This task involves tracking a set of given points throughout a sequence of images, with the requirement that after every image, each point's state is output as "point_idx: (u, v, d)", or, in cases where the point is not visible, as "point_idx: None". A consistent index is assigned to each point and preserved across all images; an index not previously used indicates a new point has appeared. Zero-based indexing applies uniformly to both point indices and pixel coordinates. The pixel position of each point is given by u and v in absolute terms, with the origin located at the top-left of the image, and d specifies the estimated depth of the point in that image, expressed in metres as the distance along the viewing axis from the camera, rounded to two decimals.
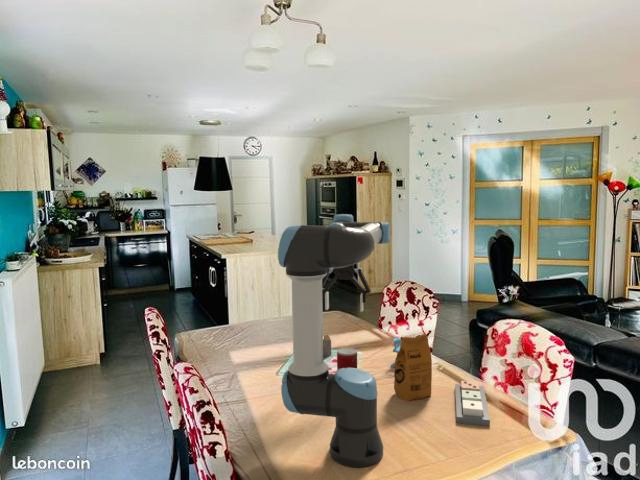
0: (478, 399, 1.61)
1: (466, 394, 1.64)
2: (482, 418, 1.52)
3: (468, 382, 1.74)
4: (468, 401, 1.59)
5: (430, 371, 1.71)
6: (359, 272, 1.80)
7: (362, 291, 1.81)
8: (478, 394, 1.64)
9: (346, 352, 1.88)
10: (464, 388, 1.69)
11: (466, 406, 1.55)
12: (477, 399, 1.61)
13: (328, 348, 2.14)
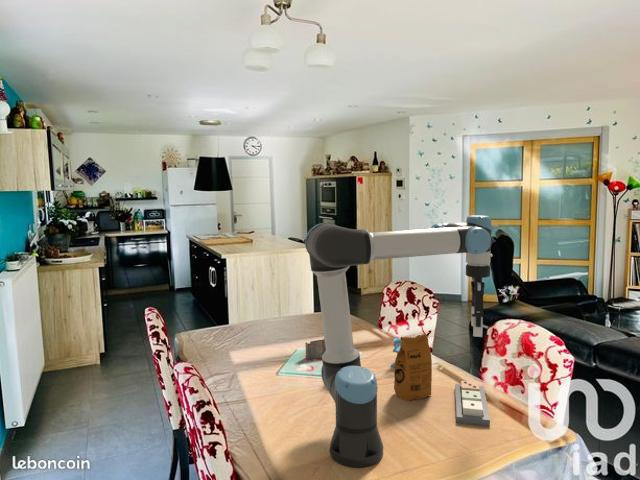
0: (478, 399, 1.61)
1: (466, 394, 1.64)
2: (482, 418, 1.52)
3: (468, 382, 1.74)
4: (468, 401, 1.59)
5: (430, 371, 1.71)
6: (474, 288, 1.49)
7: (474, 312, 1.50)
8: (478, 394, 1.64)
9: None
10: (464, 388, 1.69)
11: (466, 406, 1.55)
12: (477, 399, 1.61)
13: None
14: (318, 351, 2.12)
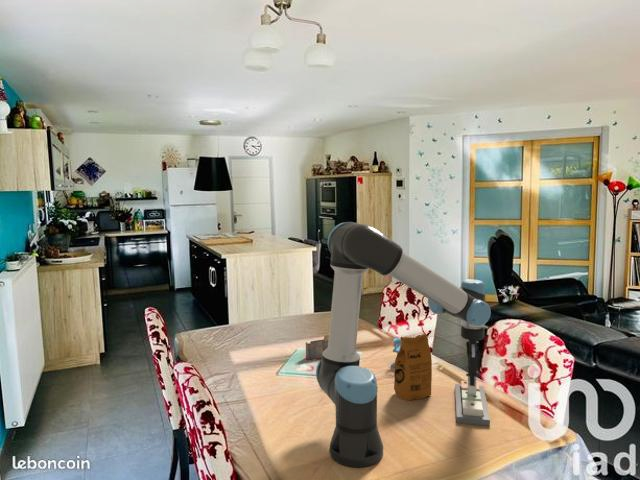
0: (478, 399, 1.61)
1: (466, 394, 1.64)
2: (482, 418, 1.52)
3: None
4: (468, 401, 1.59)
5: (430, 371, 1.71)
6: (469, 354, 1.57)
7: (468, 372, 1.62)
8: (478, 394, 1.64)
9: None
10: (464, 388, 1.69)
11: (466, 406, 1.55)
12: (477, 399, 1.61)
13: None
14: (318, 351, 2.12)
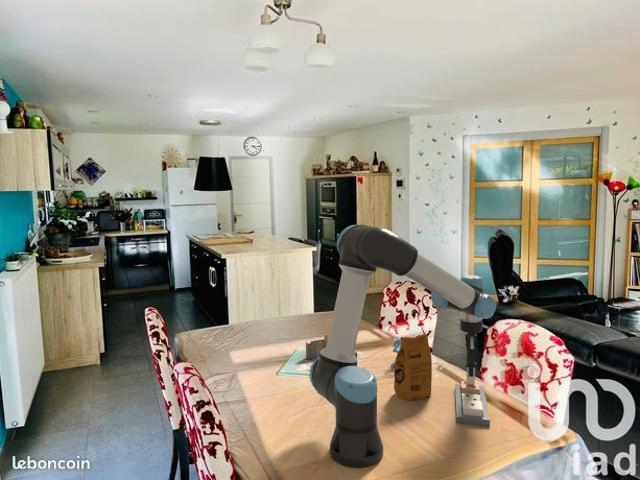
0: None
1: (466, 397, 1.64)
2: (482, 418, 1.52)
3: None
4: (468, 401, 1.59)
5: (430, 371, 1.71)
6: (468, 346, 1.65)
7: (467, 363, 1.70)
8: (478, 397, 1.64)
9: None
10: (464, 388, 1.69)
11: (466, 406, 1.55)
12: None
13: None
14: (318, 351, 2.12)
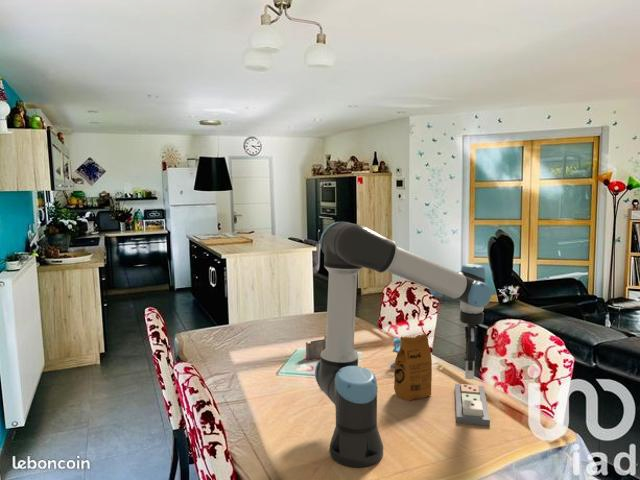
0: None
1: (466, 397, 1.64)
2: (482, 418, 1.52)
3: (468, 385, 1.74)
4: (468, 401, 1.59)
5: (430, 371, 1.71)
6: (468, 338, 1.58)
7: None
8: (478, 397, 1.64)
9: None
10: (464, 391, 1.69)
11: (466, 406, 1.55)
12: None
13: None
14: (318, 351, 2.12)
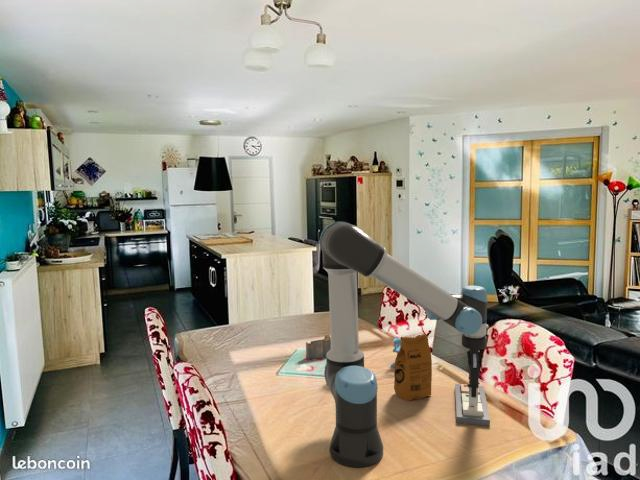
0: (478, 402, 1.61)
1: (466, 397, 1.64)
2: (482, 418, 1.52)
3: None
4: (468, 403, 1.59)
5: (430, 371, 1.71)
6: (470, 364, 1.50)
7: None
8: (478, 397, 1.64)
9: None
10: (464, 391, 1.69)
11: (466, 408, 1.55)
12: None
13: (328, 348, 2.14)
14: (318, 351, 2.12)
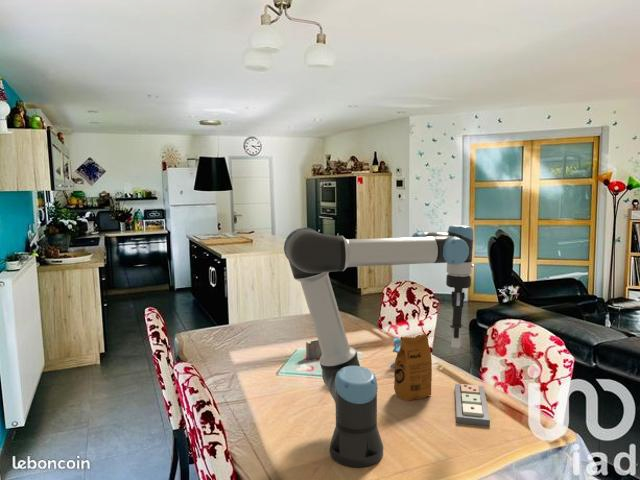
0: (478, 402, 1.61)
1: (466, 397, 1.64)
2: (482, 418, 1.52)
3: (468, 385, 1.74)
4: (468, 404, 1.59)
5: (430, 371, 1.71)
6: (454, 302, 1.48)
7: None
8: (478, 397, 1.64)
9: None
10: (464, 391, 1.69)
11: (466, 410, 1.55)
12: (477, 402, 1.61)
13: None
14: (318, 351, 2.12)
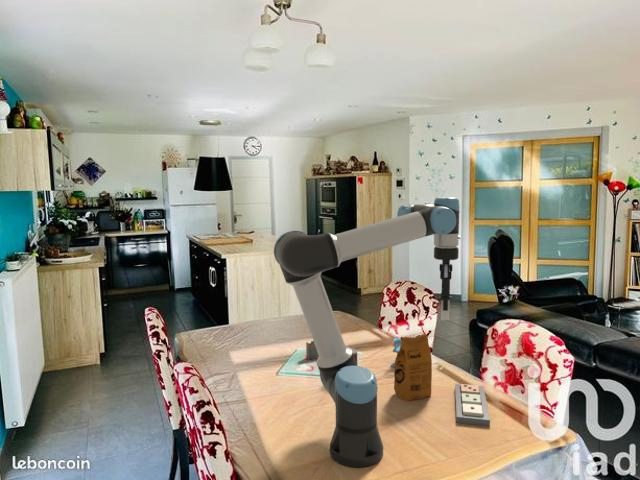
0: (478, 402, 1.61)
1: (466, 397, 1.64)
2: (482, 418, 1.52)
3: (468, 385, 1.74)
4: (468, 404, 1.59)
5: (430, 371, 1.71)
6: (441, 274, 1.48)
7: None
8: (478, 397, 1.64)
9: None
10: (464, 391, 1.69)
11: (466, 410, 1.55)
12: (477, 402, 1.61)
13: None
14: None
